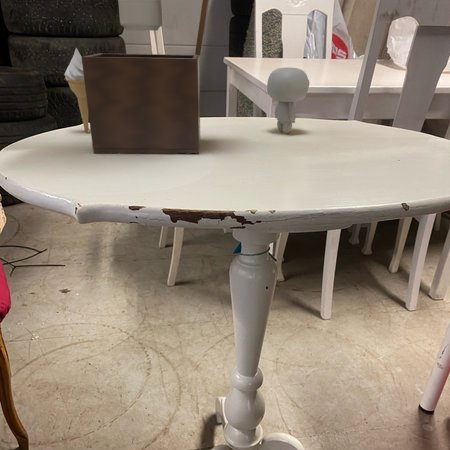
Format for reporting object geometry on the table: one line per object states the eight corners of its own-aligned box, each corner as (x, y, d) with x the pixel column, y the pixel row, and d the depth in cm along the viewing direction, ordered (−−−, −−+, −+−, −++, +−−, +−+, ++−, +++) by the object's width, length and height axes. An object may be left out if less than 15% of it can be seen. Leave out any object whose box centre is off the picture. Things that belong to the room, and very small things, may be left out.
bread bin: (93, 153, 78) (81, 56, 71) (107, 138, 89) (98, 53, 82) (198, 154, 78) (197, 58, 71) (200, 139, 89) (199, 54, 82)
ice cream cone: (69, 134, 91) (56, 47, 84) (76, 129, 96) (64, 46, 88) (98, 135, 91) (88, 48, 84) (103, 130, 96) (94, 47, 89)
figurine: (310, 134, 95) (317, 68, 89) (278, 137, 92) (282, 69, 86) (289, 127, 101) (294, 66, 95) (259, 130, 98) (262, 66, 92)
